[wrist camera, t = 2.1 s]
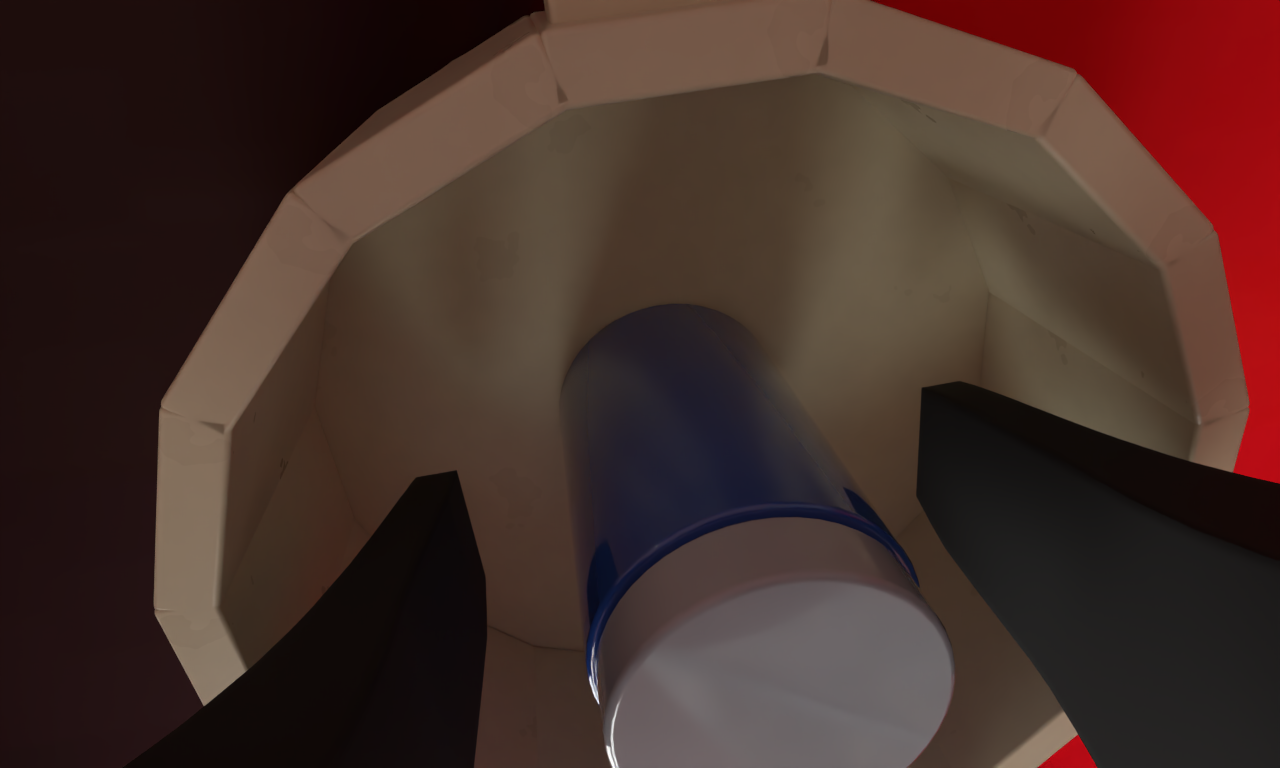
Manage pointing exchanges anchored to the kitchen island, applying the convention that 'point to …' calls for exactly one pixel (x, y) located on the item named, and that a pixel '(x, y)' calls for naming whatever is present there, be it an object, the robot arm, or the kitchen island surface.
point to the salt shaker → (735, 564)
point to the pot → (679, 274)
